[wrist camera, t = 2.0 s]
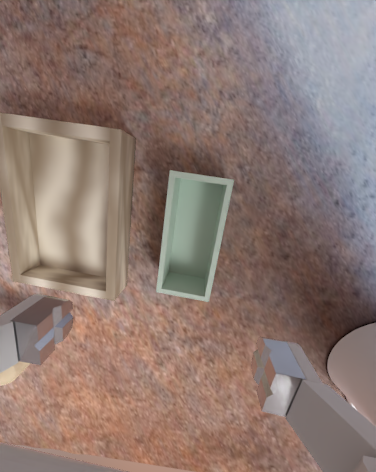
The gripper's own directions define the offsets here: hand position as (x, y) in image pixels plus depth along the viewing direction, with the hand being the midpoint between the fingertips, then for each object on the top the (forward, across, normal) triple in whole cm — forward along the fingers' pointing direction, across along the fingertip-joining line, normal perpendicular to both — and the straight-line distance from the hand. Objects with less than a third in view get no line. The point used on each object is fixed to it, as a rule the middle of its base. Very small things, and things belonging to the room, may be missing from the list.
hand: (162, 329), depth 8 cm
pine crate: (+18, +16, 0) cm, 24 cm away
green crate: (+18, 0, 0) cm, 18 cm away
